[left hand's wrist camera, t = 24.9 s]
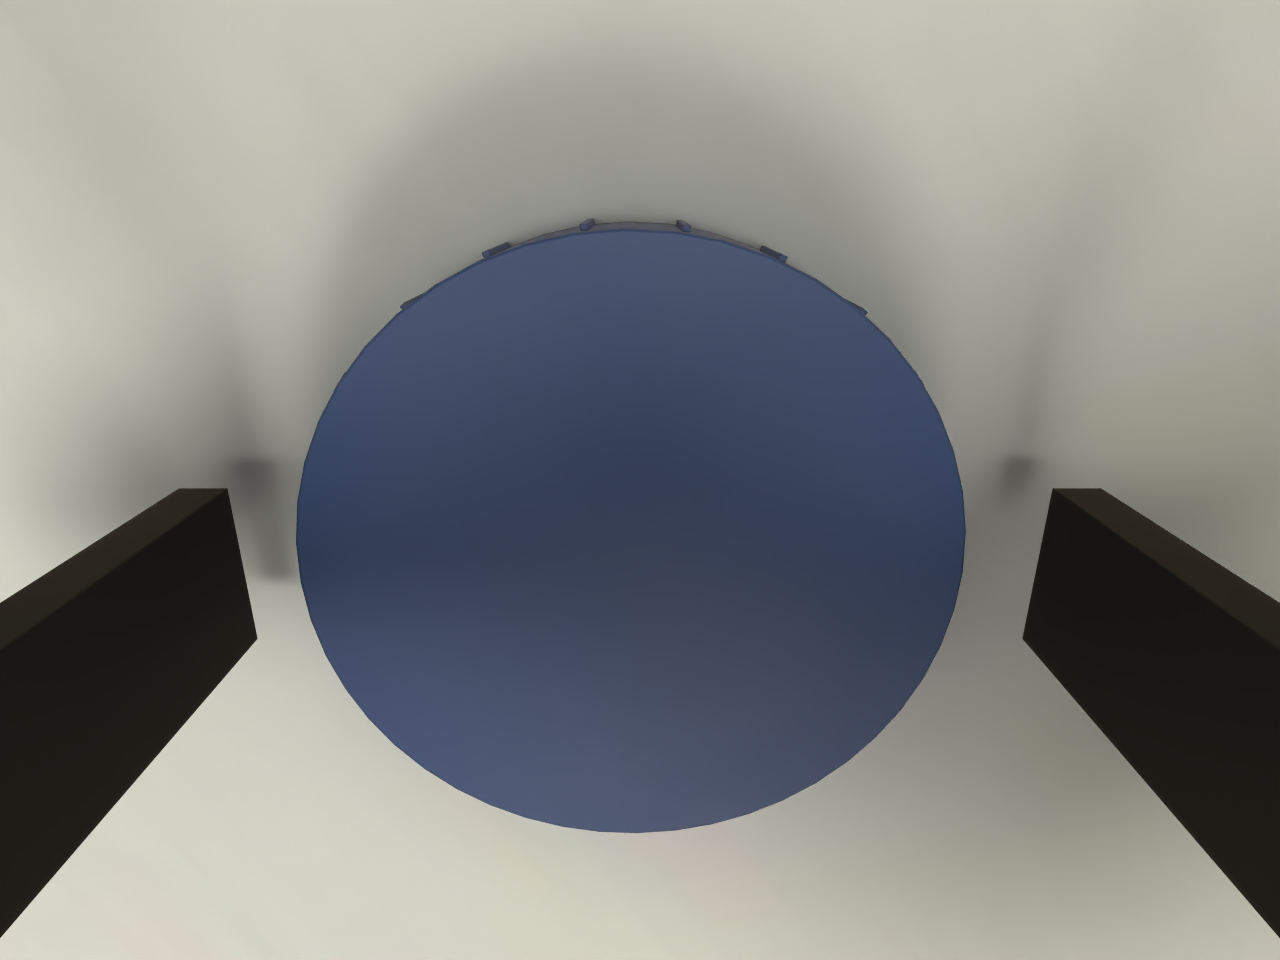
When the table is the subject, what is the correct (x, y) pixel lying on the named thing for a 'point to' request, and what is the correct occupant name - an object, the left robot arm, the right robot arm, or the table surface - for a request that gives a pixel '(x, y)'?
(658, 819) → the lid
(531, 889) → the table surface
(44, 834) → the left robot arm
